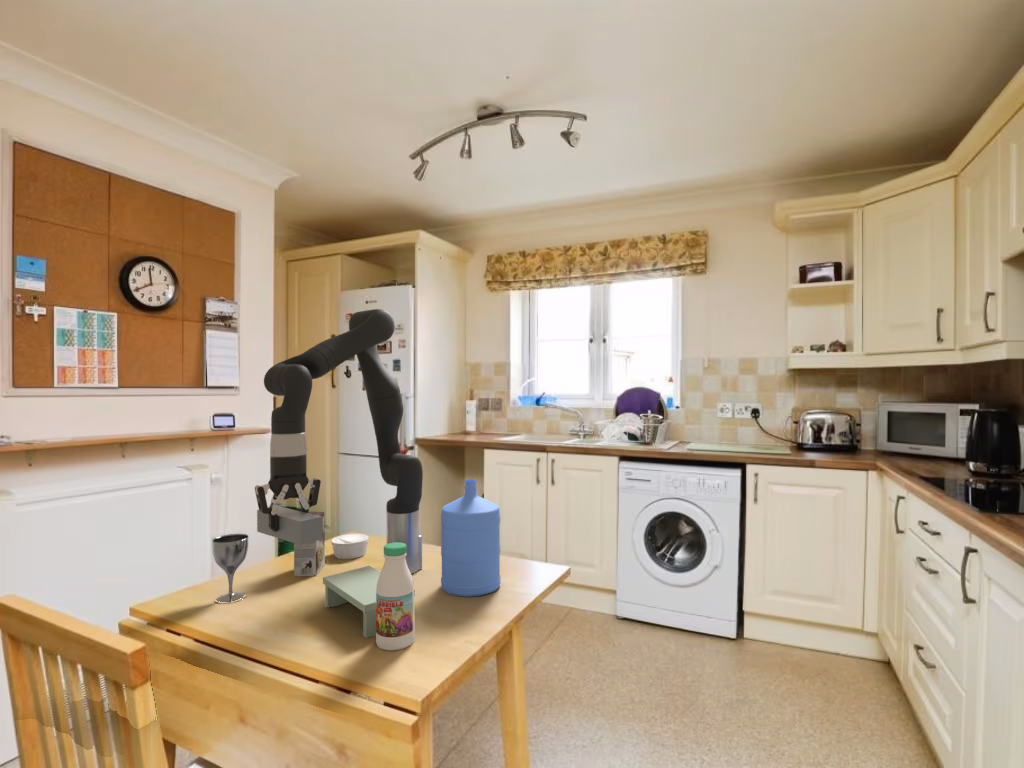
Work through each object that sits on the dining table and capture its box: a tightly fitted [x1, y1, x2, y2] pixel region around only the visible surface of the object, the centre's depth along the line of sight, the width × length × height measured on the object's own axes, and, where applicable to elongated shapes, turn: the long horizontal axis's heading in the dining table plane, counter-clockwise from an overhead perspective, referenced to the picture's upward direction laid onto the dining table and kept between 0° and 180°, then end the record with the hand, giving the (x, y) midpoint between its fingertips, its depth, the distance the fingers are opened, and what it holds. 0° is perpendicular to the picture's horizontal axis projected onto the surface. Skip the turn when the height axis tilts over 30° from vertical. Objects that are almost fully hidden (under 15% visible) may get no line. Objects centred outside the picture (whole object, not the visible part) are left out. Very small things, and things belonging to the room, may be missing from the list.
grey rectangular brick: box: [256, 505, 322, 545], centre depth 115 cm, size 5×18×5 cm, turn 54°
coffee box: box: [293, 511, 326, 577], centre depth 148 cm, size 9×6×16 cm
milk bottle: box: [375, 542, 415, 652], centre depth 106 cm, size 8×8×20 cm
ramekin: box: [330, 533, 370, 560], centre depth 162 cm, size 11×11×5 cm
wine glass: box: [211, 533, 249, 602], centre depth 129 cm, size 8×8×15 cm
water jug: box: [440, 478, 502, 598], centre depth 136 cm, size 16×16×28 cm
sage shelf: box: [322, 565, 416, 639], centre depth 119 cm, size 12×22×7 cm, turn 42°
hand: (288, 528), depth 115 cm, fingers closed on grey rectangular brick, 5 cm apart
